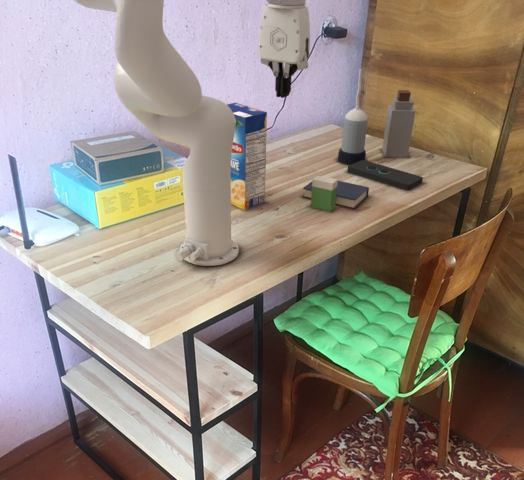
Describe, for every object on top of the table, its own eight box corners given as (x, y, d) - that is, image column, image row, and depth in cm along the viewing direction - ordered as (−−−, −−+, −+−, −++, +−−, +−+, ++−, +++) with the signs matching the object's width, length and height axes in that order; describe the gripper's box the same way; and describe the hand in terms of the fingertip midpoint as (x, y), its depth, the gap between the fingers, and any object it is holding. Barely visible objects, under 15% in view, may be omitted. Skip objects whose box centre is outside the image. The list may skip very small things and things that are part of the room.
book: (354, 209, 146) (355, 199, 144) (302, 197, 151) (303, 187, 150) (367, 196, 152) (369, 187, 151) (317, 185, 158) (318, 176, 156)
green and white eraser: (335, 207, 147) (330, 211, 144) (315, 202, 149) (310, 207, 146) (337, 179, 142) (332, 183, 140) (317, 175, 144) (312, 179, 142)
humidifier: (345, 153, 179) (355, 64, 164) (369, 159, 175) (381, 69, 160) (332, 161, 174) (340, 69, 159) (356, 167, 170) (368, 74, 155)
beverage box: (245, 210, 144) (245, 117, 131) (215, 197, 150) (213, 107, 137) (264, 202, 148) (267, 112, 135) (235, 190, 154) (235, 102, 141)
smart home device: (363, 158, 171) (424, 176, 160) (362, 164, 172) (423, 182, 161) (346, 165, 166) (408, 184, 155) (346, 171, 167) (407, 191, 156)
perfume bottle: (407, 157, 177) (418, 94, 167) (385, 157, 177) (394, 94, 167) (403, 150, 183) (413, 88, 172) (382, 149, 183) (390, 88, 172)
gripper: (244, -4, 116) (244, 94, 127) (312, 3, 110) (306, 105, 121) (262, -7, 121) (261, 87, 132) (328, -1, 116) (321, 97, 127)
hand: (282, 95), depth 127 cm, fingers closed
